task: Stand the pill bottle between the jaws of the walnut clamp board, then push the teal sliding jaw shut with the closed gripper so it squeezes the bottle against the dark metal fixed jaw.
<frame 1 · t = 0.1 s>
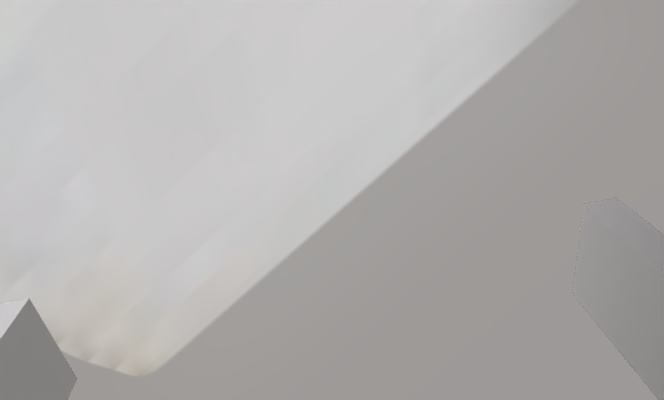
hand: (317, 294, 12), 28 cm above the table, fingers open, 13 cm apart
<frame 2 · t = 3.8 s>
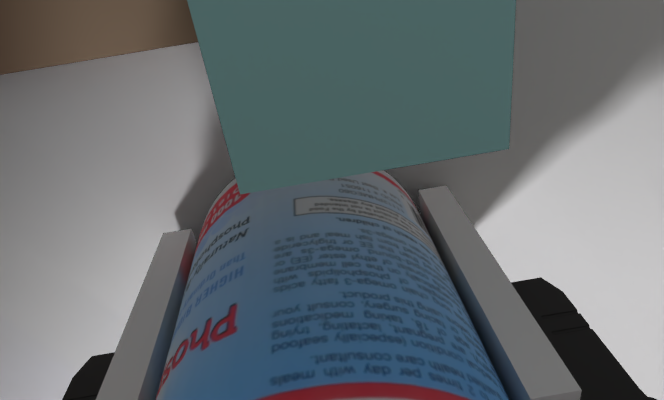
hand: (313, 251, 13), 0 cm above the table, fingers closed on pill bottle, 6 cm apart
pill bottle: (312, 238, 14), on the table, touching gripper
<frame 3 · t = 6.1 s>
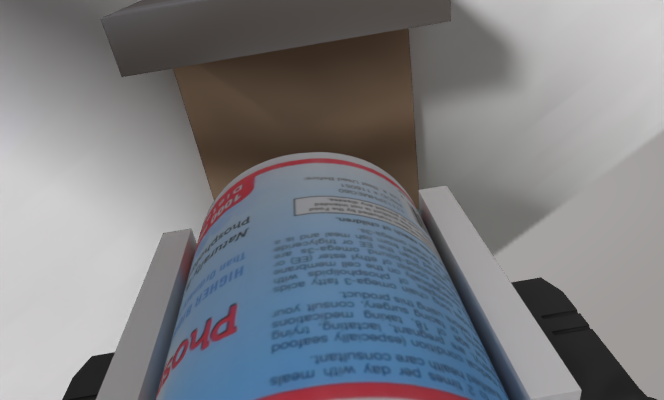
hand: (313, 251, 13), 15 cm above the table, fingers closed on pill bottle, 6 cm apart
sliding jaw: (331, 273, 26), point 5 cm above the table, slide at 0.0 cm
clamp board: (308, 143, 27), on the table
pill bottle: (312, 238, 14), point 14 cm above the table, touching gripper
when the fingers open (2 cm above the table, at t = 8.7 s): pill bottle stays where it is, resting on clamp board.
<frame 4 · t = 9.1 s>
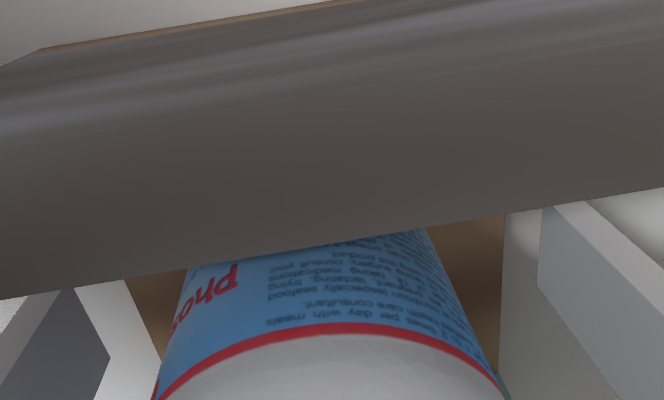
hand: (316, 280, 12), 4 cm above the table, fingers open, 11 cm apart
clamp board: (323, 280, 17), on the table
pill bottle: (309, 220, 14), point 1 cm above the table, touching clamp board
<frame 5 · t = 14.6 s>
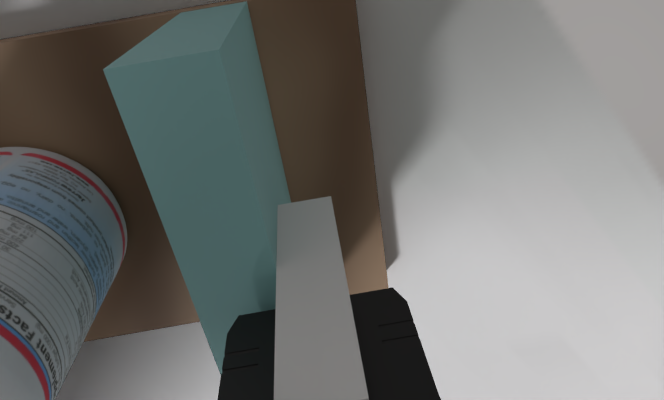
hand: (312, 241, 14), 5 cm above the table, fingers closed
sliding jaw: (253, 236, 14), point 5 cm above the table, slide at 1.3 cm, touching gripper
clamp board: (136, 191, 18), on the table
pill bottle: (48, 216, 17), point 1 cm above the table, touching clamp board
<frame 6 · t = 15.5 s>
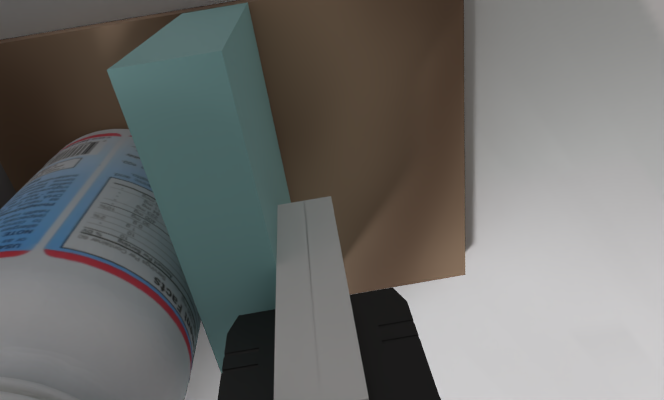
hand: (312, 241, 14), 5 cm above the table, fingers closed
sliding jaw: (253, 235, 14), point 5 cm above the table, slide at 4.6 cm, touching gripper
clamp board: (224, 175, 18), on the table
pill bottle: (141, 200, 17), point 1 cm above the table, touching clamp board
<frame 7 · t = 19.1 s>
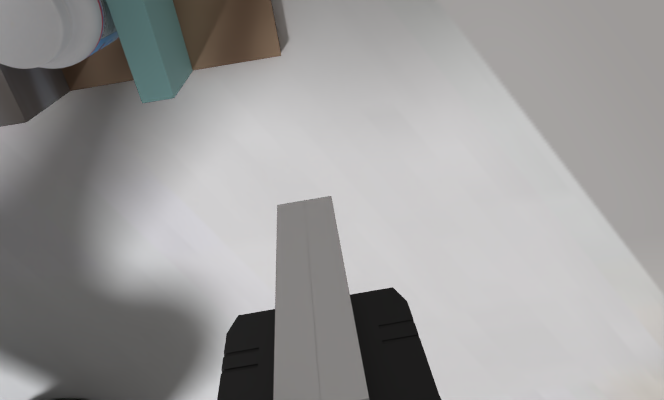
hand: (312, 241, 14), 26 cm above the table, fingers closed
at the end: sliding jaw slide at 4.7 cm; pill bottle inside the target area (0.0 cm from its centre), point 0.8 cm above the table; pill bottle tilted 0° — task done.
